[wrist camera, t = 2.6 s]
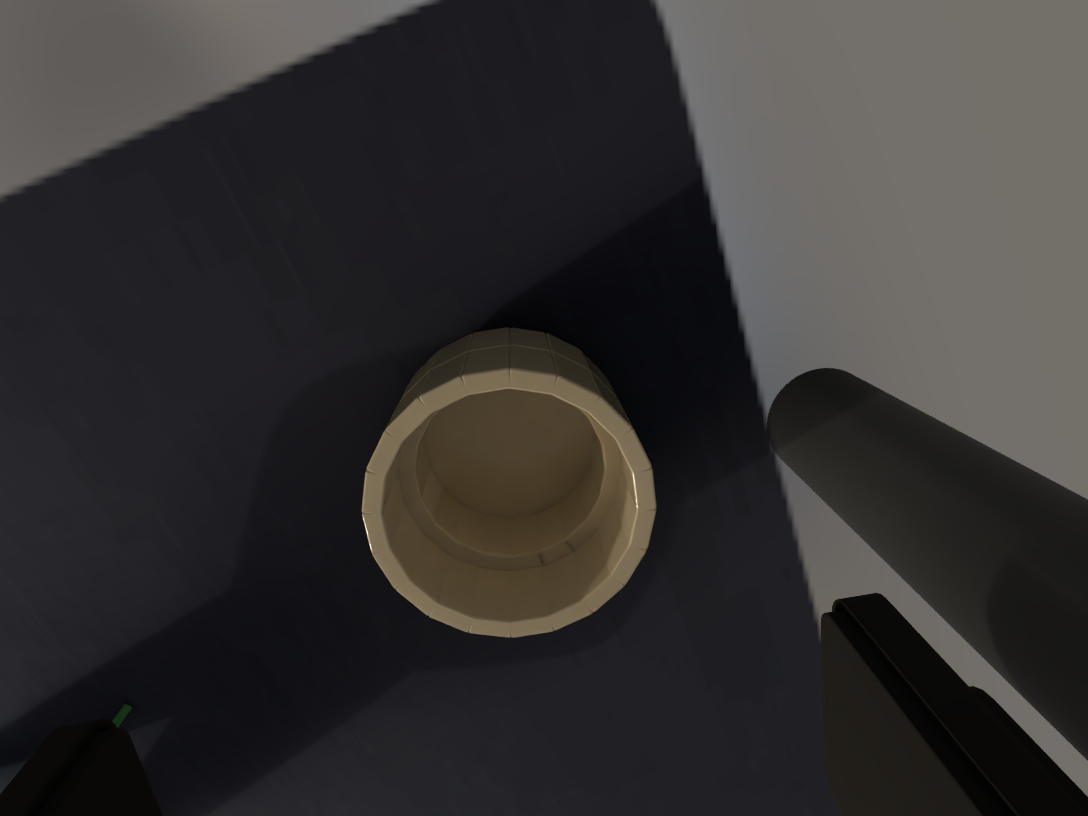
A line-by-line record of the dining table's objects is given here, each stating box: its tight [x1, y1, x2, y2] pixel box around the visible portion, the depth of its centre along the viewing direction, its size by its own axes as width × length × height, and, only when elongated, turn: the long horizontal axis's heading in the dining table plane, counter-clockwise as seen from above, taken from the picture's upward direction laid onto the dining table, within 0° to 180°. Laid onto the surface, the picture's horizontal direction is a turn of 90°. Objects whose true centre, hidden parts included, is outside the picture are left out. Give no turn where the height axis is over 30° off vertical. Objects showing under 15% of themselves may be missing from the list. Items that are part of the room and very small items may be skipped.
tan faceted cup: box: [362, 327, 657, 638], centre depth 19 cm, size 7×7×6 cm
